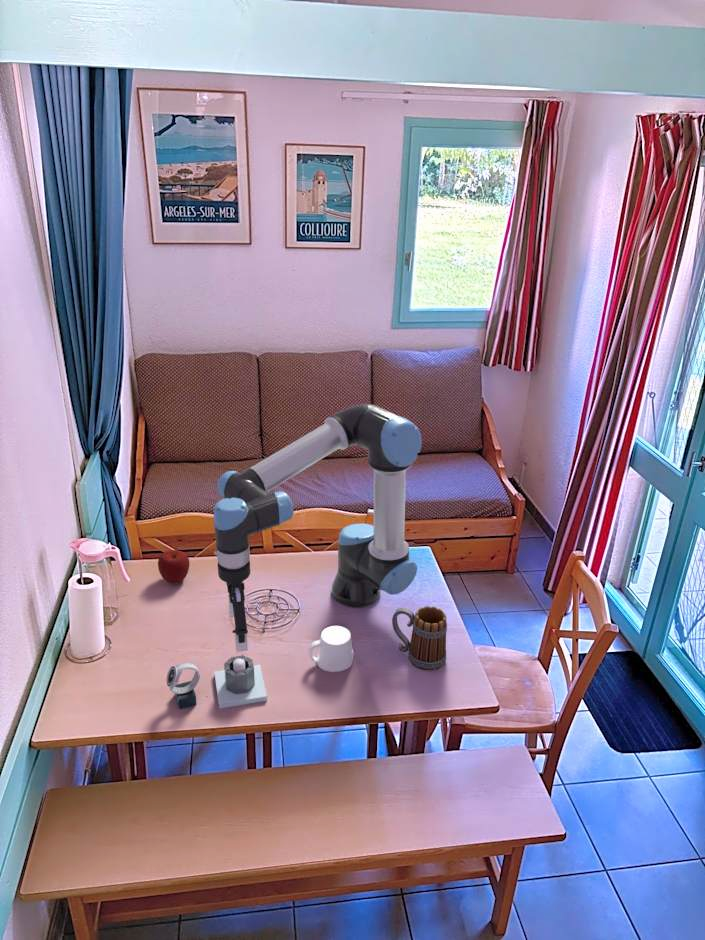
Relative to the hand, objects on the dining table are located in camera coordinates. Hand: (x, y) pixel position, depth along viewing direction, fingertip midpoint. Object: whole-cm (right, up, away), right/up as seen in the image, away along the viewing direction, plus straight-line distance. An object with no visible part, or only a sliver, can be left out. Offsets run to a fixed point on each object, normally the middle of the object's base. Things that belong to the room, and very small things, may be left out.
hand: (238, 632), depth 180 cm
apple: (-28, +5, +49) cm, 57 cm away
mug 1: (+22, -12, +17) cm, 31 cm away
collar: (-1, -15, +7) cm, 16 cm away
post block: (-1, -16, +8) cm, 18 cm away
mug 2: (+46, -11, +21) cm, 52 cm away
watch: (-14, -18, +4) cm, 23 cm away
